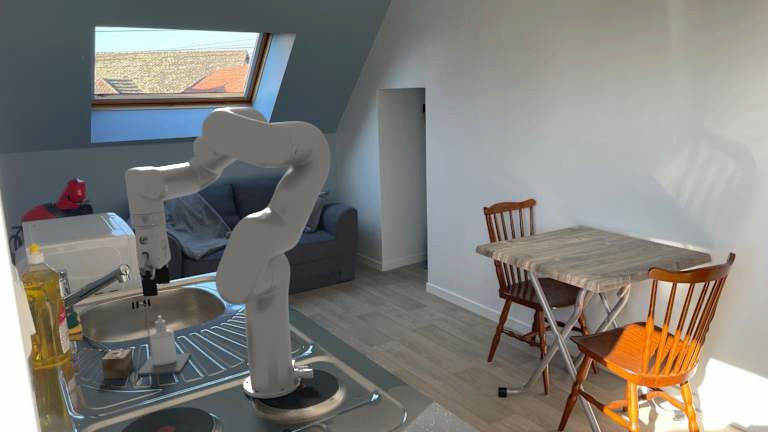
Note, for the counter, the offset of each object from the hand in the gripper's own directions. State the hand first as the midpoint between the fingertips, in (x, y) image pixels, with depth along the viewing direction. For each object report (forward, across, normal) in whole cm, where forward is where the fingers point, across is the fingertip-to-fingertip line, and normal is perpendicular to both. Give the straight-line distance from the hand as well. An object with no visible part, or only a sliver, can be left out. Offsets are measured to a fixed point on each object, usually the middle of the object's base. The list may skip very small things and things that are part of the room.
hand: (157, 289), depth 140 cm
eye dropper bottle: (+19, 0, 0) cm, 19 cm away
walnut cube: (+20, -3, +11) cm, 22 cm away
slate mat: (+20, 0, +1) cm, 20 cm away
